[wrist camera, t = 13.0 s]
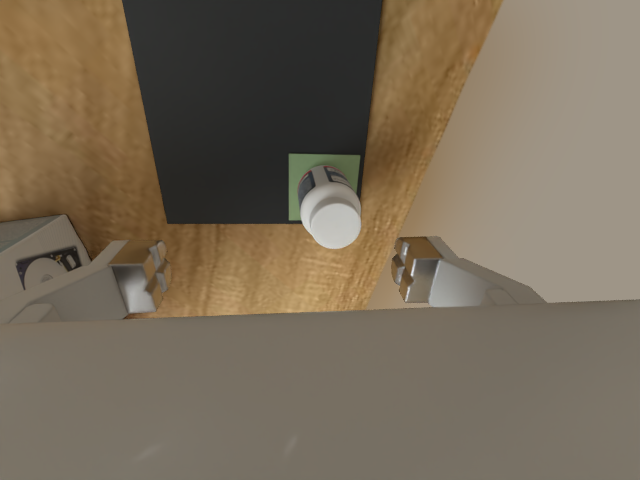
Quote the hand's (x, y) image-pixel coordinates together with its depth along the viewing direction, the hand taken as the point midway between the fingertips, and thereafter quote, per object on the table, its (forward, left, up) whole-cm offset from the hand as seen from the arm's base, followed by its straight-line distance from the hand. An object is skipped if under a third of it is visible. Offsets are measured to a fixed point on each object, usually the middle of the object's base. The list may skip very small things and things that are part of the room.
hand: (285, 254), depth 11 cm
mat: (-1, -2, -21) cm, 21 cm away
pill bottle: (+5, +4, -21) cm, 22 cm away
